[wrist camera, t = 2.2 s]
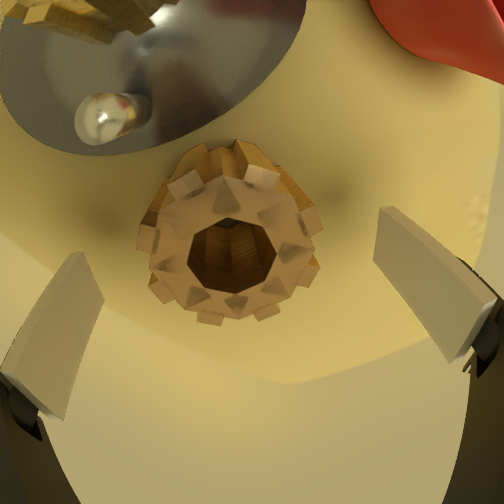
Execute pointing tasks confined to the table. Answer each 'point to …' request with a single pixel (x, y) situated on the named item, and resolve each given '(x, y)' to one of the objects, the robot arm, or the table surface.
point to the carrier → (135, 66)
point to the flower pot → (449, 32)
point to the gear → (229, 235)
